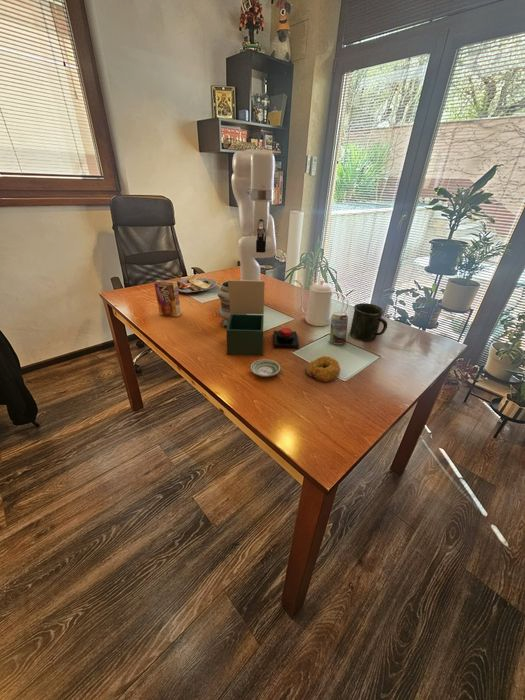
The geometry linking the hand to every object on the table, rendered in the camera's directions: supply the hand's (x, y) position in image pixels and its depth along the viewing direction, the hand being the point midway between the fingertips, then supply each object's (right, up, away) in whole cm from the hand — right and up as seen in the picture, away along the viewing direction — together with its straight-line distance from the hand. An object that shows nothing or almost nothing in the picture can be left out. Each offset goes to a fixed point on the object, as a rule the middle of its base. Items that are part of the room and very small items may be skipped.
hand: (261, 249), depth 105 cm
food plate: (-38, -1, +59) cm, 70 cm away
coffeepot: (+24, -24, +24) cm, 42 cm away
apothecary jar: (-12, -26, +20) cm, 35 cm away
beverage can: (+29, -34, +8) cm, 45 cm away
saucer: (+1, -44, -11) cm, 45 cm away
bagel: (+20, -44, -10) cm, 50 cm away
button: (+9, -30, +6) cm, 33 cm away
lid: (-5, -18, -1) cm, 19 cm away
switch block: (+9, -33, +8) cm, 35 cm away
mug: (+42, -32, +12) cm, 54 cm away
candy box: (-42, -20, +27) cm, 54 cm away
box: (-6, -35, +4) cm, 36 cm away
